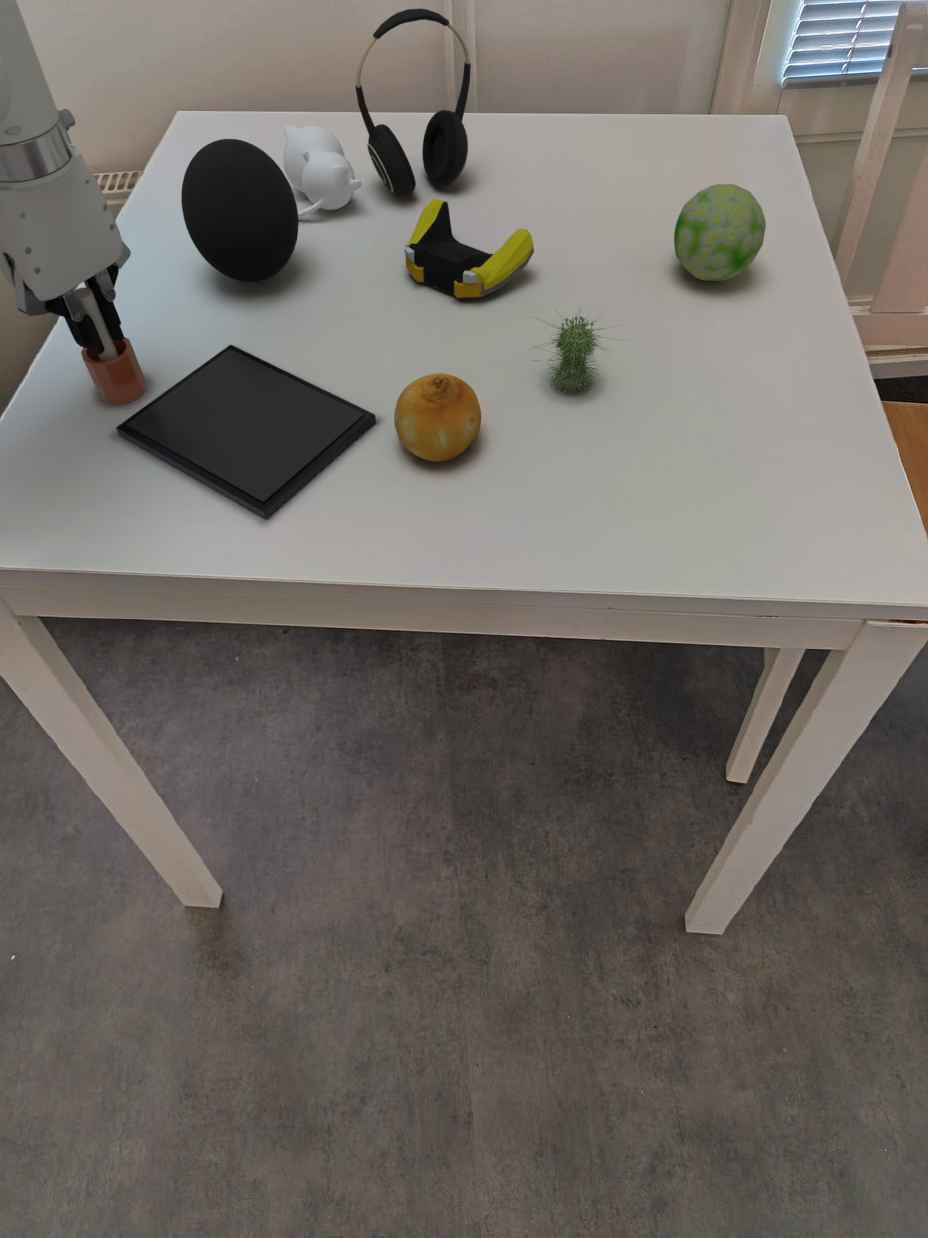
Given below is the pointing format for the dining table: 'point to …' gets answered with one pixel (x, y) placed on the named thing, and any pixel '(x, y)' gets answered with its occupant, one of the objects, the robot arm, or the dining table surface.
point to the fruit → (437, 417)
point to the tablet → (247, 429)
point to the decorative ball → (719, 232)
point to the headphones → (442, 133)
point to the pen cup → (116, 374)
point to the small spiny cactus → (574, 352)
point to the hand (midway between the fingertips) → (102, 340)
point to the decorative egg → (239, 210)
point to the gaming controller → (461, 256)
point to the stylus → (97, 322)
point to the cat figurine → (318, 168)
